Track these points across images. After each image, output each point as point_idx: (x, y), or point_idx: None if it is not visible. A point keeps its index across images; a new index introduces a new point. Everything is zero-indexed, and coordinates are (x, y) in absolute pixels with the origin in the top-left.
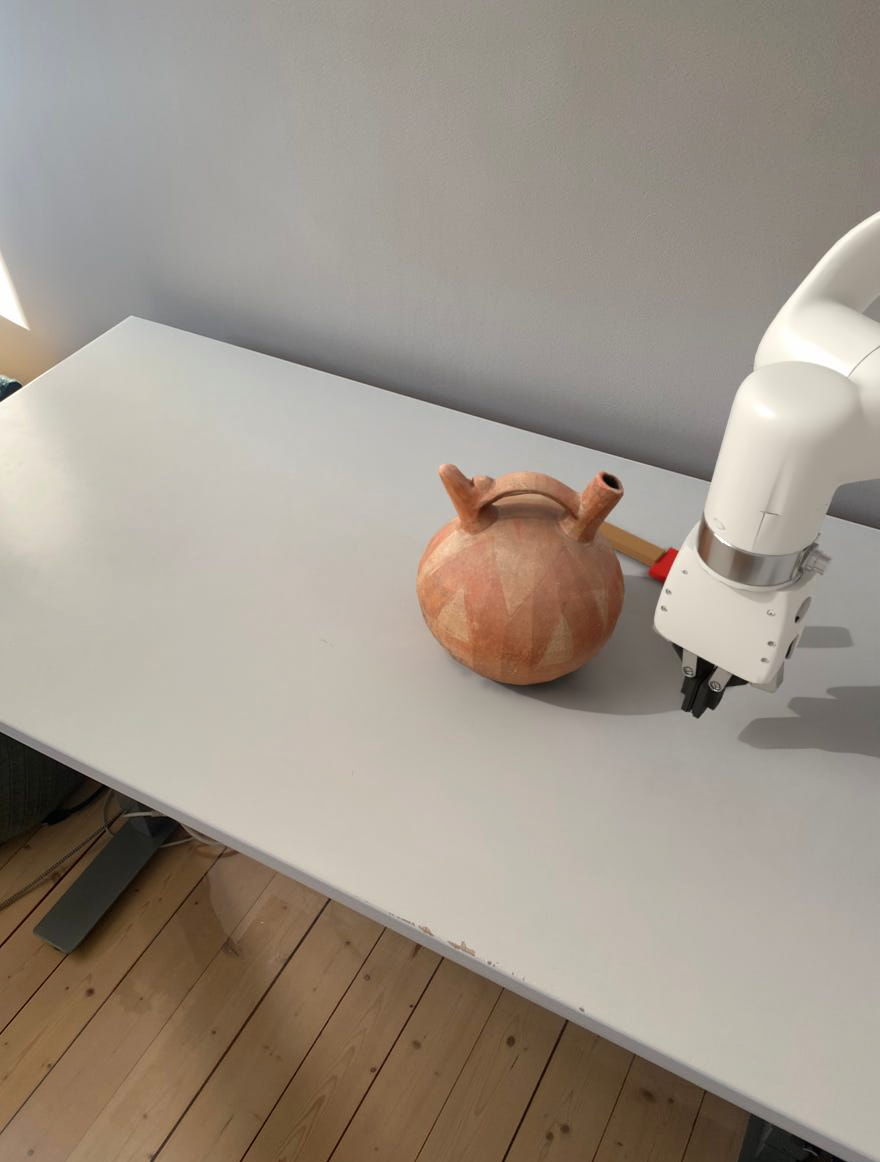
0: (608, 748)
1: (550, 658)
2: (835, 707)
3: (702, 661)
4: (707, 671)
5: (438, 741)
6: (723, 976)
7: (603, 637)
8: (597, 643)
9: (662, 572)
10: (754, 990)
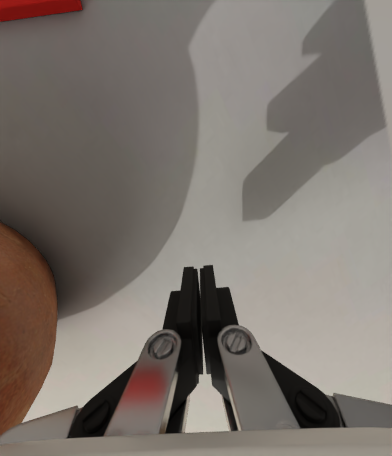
0: (156, 313)
1: None
2: (324, 75)
3: (180, 387)
4: (196, 345)
5: (63, 386)
6: (330, 389)
7: (10, 371)
8: (19, 376)
9: None
10: (351, 385)
